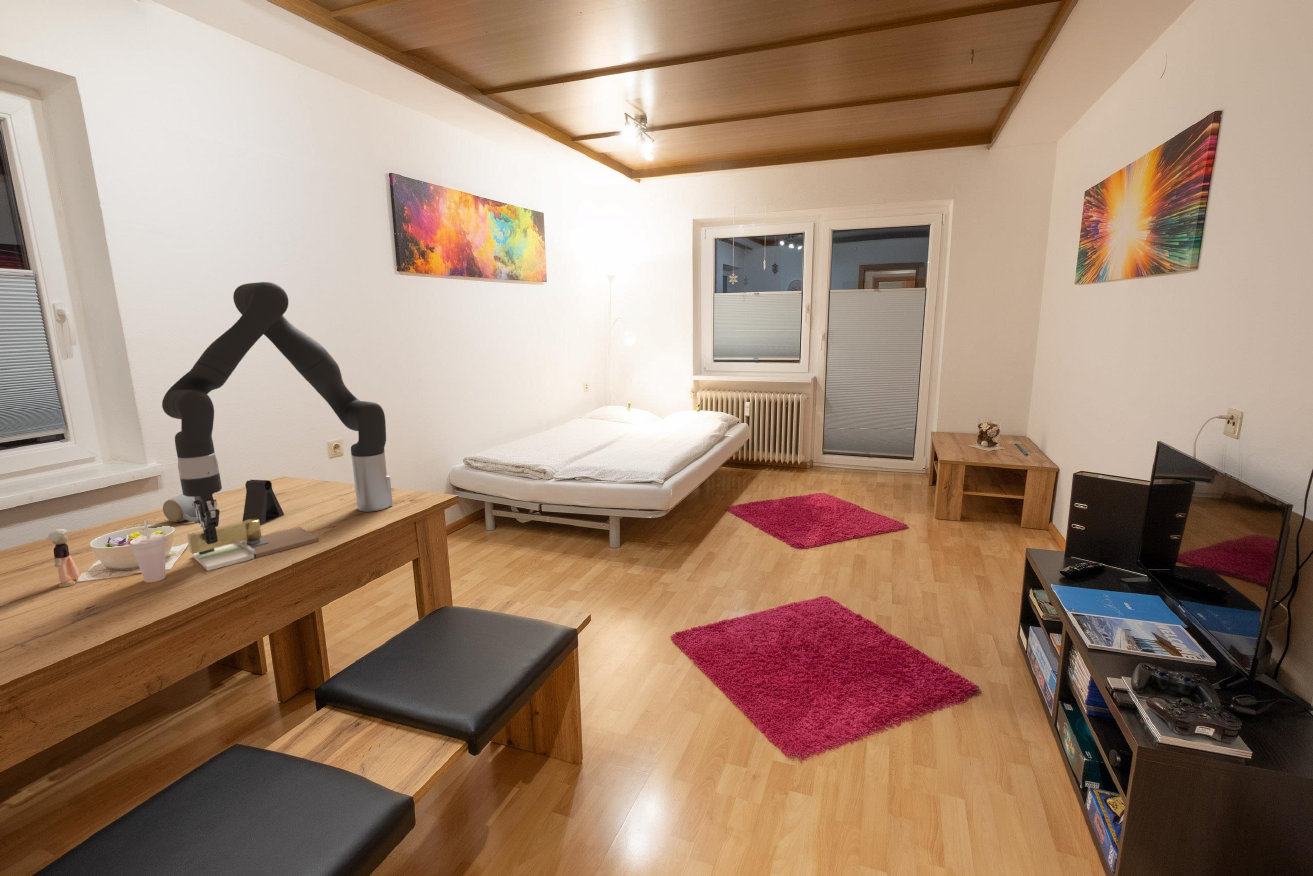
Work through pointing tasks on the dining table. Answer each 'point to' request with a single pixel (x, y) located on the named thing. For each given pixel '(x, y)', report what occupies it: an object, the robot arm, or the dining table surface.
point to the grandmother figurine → (63, 558)
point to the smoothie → (150, 555)
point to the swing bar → (226, 535)
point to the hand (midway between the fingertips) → (211, 542)
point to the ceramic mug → (180, 509)
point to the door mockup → (254, 548)
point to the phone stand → (261, 502)
